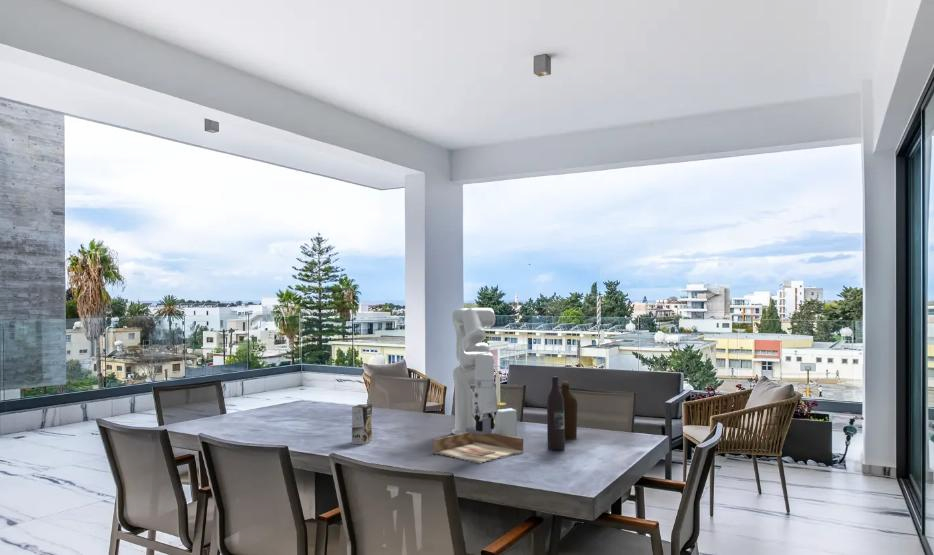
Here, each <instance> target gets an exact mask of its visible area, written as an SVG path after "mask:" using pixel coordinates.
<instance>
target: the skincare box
mask: <svg viewBox="0 0 934 555" xmlns="http://www.w3.org/2000/svg"><path fill="white" fill-rule="evenodd" d="M517 419H518V416H517V410H516V409H514V408H512V407H510V408H502V409H499V410H498V411H497V412H496V415H495V419H494V421H495V425H494V430H495V431H494V433H496V434H502V435H508V436H513V437H518V422H517Z"/></svg>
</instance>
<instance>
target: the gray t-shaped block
mask: <svg viewBox="0 0 934 555" xmlns="http://www.w3.org/2000/svg"><path fill="white" fill-rule="evenodd" d="M482 421H483V431H476V427H470V428H466V432H469V433H475V434H479V435H484V434H489V433H493V432H492V431H493V429H492V418H490V417H488V416H486V417H482Z"/></svg>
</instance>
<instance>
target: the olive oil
mask: <svg viewBox="0 0 934 555" xmlns="http://www.w3.org/2000/svg"><path fill="white" fill-rule="evenodd" d="M560 392H561V394H562V396H563V399H564V428H565V440H574V439H576V438H577V436H578V435H577V428H578V425H577V424H578V399H577V398H576V396H575V395H574V393H572V392H571V391H570V382H569V381H567V380H564V381H561V389H560ZM573 438H574V439H573Z"/></svg>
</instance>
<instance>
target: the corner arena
mask: <svg viewBox="0 0 934 555" xmlns="http://www.w3.org/2000/svg"><path fill="white" fill-rule="evenodd" d="M432 440H433V442H432V444H433V445H432V446H433V452H432V454H434V453H435V454H434V455H438V454H440V455H439V456H443V455H445V456H444V457H447V456H450V457H449V458H452V457H455V458H454V459H456V458H460V459H459V460H461V459H465V460H469V461H468V462H470V461H473V462H472V463H475V462H478V463H477V464H479V463H482V462H485V463H487V462H486V461H489V460H493V461H495V460H494V459H496V460H498V459H497V458H500V459H502V458H501V457H504V458H506V457H505V456H507V457H510V456H509V455H511V456H514V455H513V454H515V455H518V454H521V452H522V453H524V437H519V436H517V437H513V436H508V435H502V434H496V433H495V432H492V433H489V434H484V435H479V434H475V433H469V432H465V433H461V434H452V435H448V436H443V437H438V438H433V439H432ZM517 453H518V454H517ZM465 460H464V461H465ZM489 462H490V461H489ZM482 464H483V463H482Z"/></svg>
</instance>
